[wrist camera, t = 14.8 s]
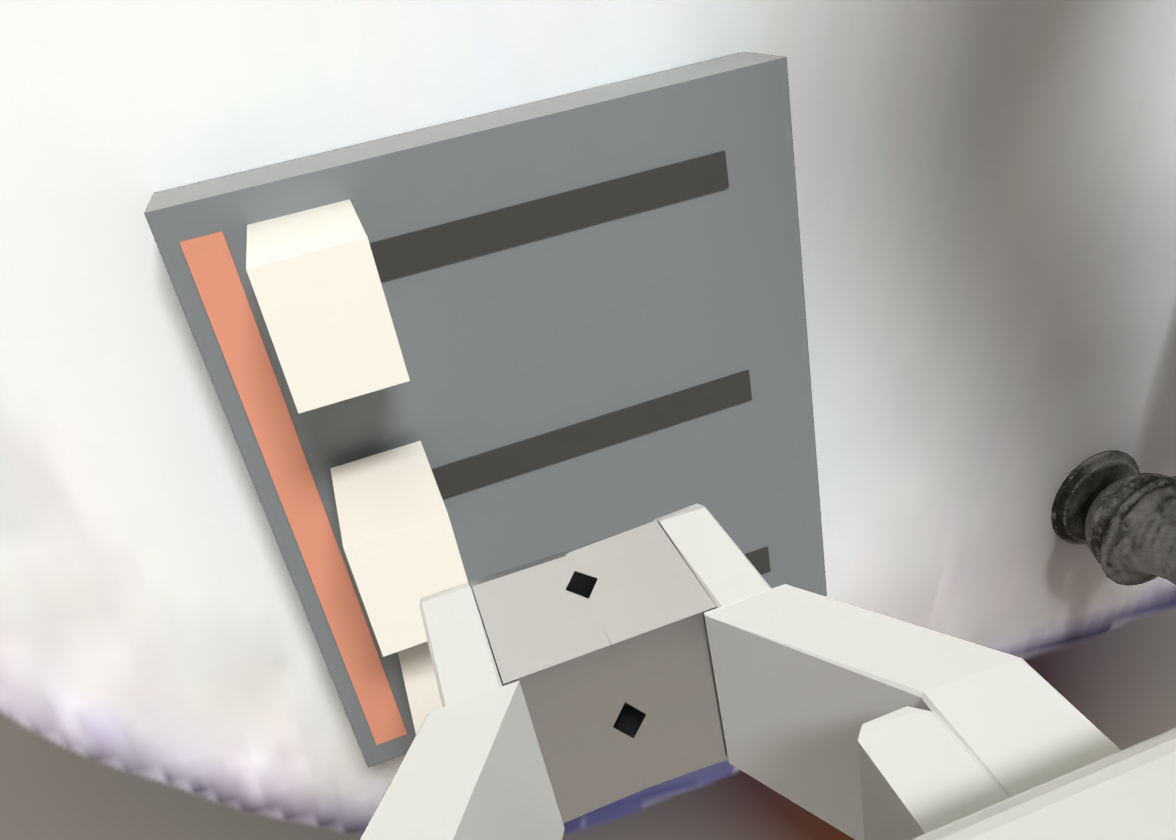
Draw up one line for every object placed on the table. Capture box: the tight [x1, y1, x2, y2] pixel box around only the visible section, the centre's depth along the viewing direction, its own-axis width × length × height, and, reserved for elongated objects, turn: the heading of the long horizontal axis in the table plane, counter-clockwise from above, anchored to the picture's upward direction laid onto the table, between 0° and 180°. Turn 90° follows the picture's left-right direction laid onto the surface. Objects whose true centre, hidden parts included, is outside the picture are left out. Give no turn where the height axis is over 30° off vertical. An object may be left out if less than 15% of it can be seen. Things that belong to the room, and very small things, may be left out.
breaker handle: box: [330, 441, 469, 657], centre depth 29 cm, size 3×4×5 cm
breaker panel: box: [144, 52, 827, 768], centre depth 32 cm, size 20×22×8 cm
